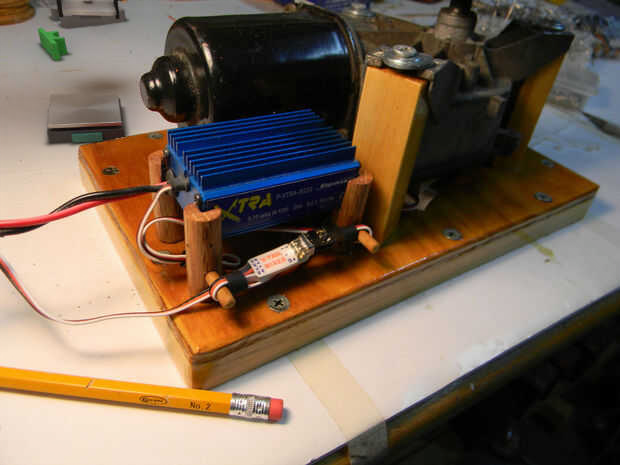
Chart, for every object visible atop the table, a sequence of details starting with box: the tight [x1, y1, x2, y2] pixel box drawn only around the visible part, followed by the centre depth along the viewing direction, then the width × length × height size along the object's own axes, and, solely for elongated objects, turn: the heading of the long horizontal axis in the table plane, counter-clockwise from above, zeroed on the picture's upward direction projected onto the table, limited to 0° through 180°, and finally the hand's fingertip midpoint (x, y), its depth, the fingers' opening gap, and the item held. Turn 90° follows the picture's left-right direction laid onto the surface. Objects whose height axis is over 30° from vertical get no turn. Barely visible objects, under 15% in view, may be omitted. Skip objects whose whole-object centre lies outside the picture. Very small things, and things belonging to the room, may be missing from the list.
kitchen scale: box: [46, 98, 126, 144], centre depth 92 cm, size 13×14×3 cm
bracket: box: [49, 2, 127, 29], centre depth 134 cm, size 10×18×11 cm, turn 135°
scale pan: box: [47, 92, 122, 129], centre depth 91 cm, size 12×12×1 cm
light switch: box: [61, 0, 117, 19], centre depth 96 cm, size 10×10×5 cm
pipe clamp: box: [37, 27, 69, 61], centre depth 116 cm, size 11×4×5 cm, turn 39°
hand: (89, 15), depth 97 cm, fingers closed on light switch, 10 cm apart
